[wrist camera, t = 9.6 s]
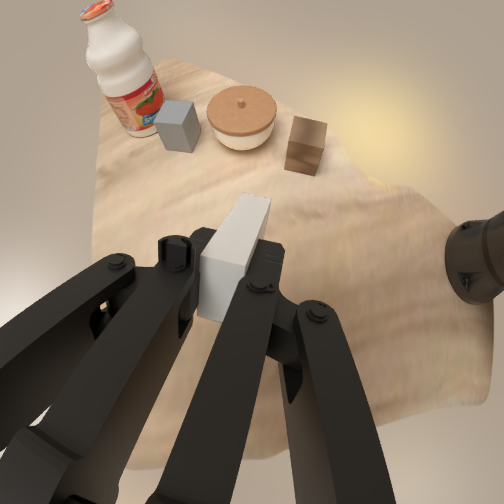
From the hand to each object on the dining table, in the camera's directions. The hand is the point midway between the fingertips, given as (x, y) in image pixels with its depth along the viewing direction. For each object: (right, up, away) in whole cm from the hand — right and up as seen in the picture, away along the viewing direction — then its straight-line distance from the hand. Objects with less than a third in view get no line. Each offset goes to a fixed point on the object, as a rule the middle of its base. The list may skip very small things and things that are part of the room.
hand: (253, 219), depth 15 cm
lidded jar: (-2, +18, +32) cm, 37 cm away
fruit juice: (-20, +24, +34) cm, 46 cm away
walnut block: (+8, +13, +30) cm, 34 cm away
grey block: (-12, +18, +32) cm, 39 cm away
